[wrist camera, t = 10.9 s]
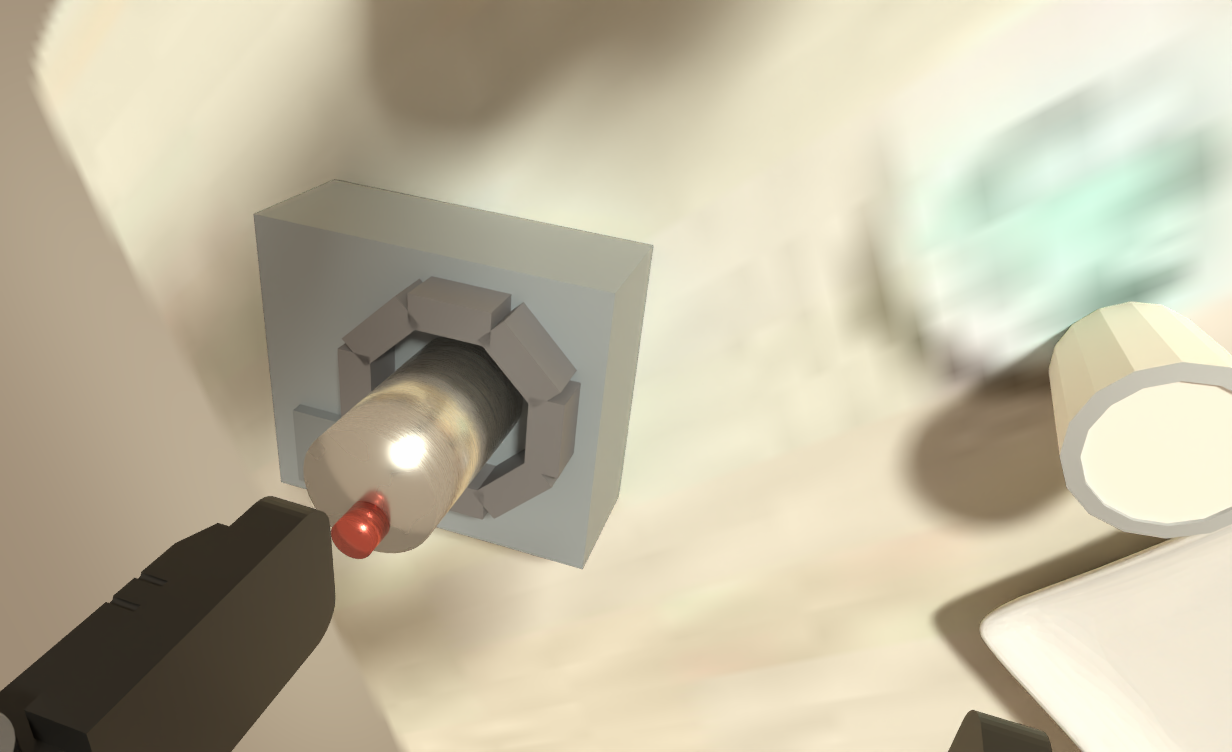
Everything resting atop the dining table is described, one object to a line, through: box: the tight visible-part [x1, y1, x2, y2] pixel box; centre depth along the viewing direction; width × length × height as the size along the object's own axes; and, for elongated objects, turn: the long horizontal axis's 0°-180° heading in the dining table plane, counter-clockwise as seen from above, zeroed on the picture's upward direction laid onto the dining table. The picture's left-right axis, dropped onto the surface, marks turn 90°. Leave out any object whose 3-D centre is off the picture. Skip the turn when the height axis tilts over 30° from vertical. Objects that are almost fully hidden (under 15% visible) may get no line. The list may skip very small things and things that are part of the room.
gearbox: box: [254, 180, 653, 569], centre depth 40 cm, size 17×16×8 cm
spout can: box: [303, 336, 523, 559], centre depth 33 cm, size 5×5×9 cm
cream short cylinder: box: [1049, 302, 1232, 538], centre depth 31 cm, size 7×7×7 cm
